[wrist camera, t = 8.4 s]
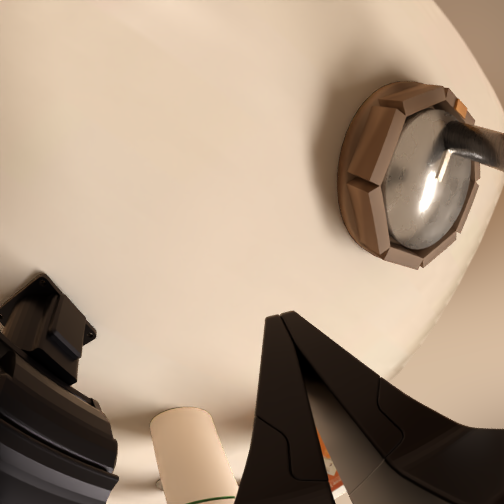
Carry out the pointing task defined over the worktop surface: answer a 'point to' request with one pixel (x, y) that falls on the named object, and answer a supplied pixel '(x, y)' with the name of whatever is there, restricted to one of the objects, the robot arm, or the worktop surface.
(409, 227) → the dial
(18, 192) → the worktop surface
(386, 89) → the dial housing
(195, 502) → the cylindrical container
